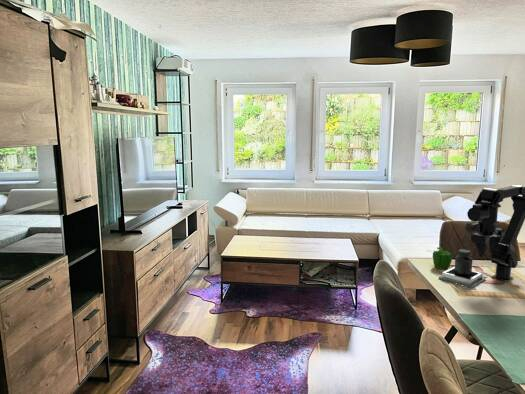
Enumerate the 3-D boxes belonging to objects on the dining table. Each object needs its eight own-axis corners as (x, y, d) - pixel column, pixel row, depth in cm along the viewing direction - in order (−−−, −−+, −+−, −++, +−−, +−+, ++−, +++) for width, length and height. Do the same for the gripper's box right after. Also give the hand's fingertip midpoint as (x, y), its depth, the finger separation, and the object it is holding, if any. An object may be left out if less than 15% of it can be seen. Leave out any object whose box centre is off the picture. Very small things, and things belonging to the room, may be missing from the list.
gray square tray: (453, 271, 185) (453, 265, 185) (485, 280, 175) (486, 273, 174) (438, 278, 176) (439, 272, 176) (471, 288, 166) (472, 281, 165)
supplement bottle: (473, 280, 172) (475, 253, 170) (455, 279, 173) (458, 252, 171) (468, 274, 178) (470, 248, 176) (452, 273, 180) (454, 248, 178)
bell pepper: (452, 266, 192) (453, 246, 190) (449, 272, 185) (451, 251, 183) (433, 263, 196) (434, 244, 194) (430, 268, 189) (431, 248, 188)
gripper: (479, 212, 178) (477, 246, 181) (458, 218, 167) (456, 254, 170) (507, 216, 169) (503, 251, 172) (486, 223, 158) (483, 261, 161)
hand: (486, 254), depth 169 cm, fingers open, 9 cm apart
